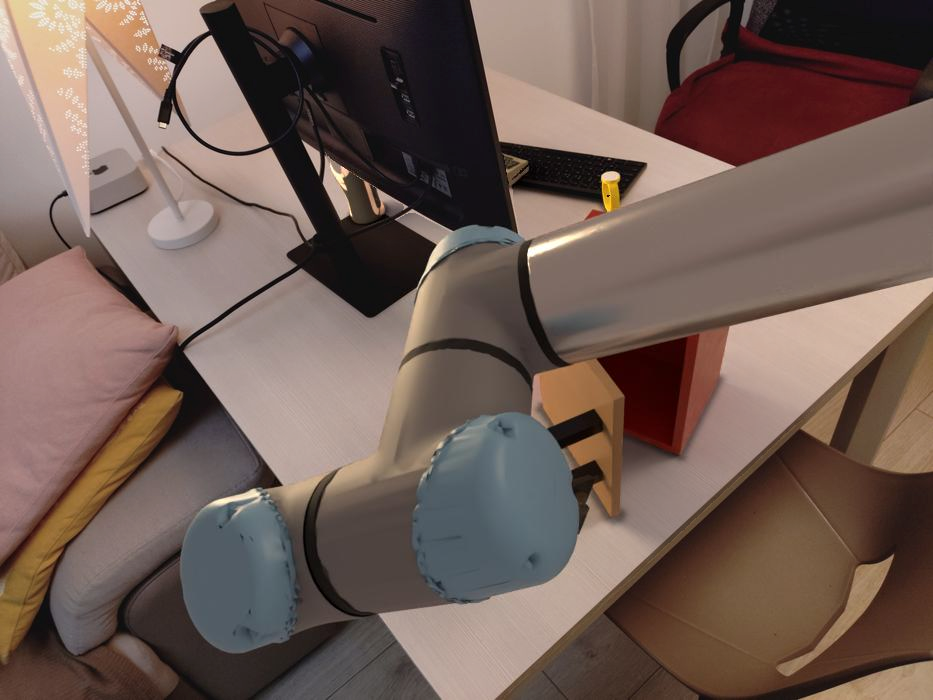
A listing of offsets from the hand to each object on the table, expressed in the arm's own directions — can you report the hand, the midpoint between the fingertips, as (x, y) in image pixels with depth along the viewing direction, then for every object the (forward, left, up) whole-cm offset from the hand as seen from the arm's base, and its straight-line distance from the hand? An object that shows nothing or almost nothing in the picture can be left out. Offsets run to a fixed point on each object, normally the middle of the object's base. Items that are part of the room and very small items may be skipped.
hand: (563, 476), depth 62 cm
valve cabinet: (0, -17, -6) cm, 18 cm away
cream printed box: (+44, -51, -6) cm, 68 cm away
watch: (+18, -49, -6) cm, 53 cm away
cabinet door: (+3, -3, -6) cm, 8 cm away
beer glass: (+56, -33, -6) cm, 66 cm away
